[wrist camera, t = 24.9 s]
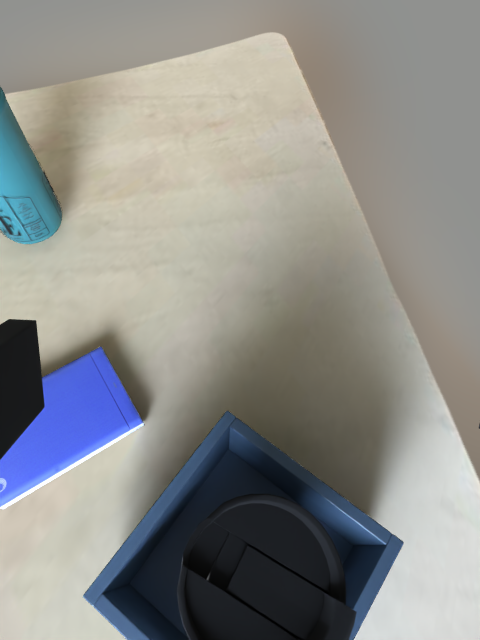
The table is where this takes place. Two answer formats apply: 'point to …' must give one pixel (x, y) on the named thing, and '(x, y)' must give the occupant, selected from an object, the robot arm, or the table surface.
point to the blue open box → (206, 496)
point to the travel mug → (263, 575)
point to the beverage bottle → (23, 186)
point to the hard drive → (68, 425)
